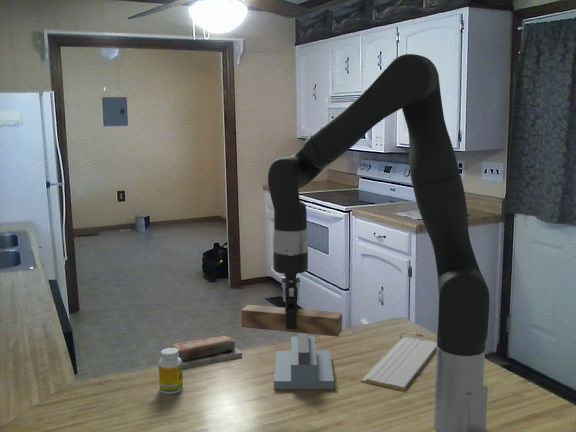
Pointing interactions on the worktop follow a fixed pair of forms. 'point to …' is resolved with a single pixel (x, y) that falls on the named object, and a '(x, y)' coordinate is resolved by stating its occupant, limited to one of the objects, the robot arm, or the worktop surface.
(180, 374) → the supplement bottle
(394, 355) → the baseboard molding
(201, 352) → the packaged product
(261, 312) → the walnut batten
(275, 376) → the ridge stand
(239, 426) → the worktop surface
